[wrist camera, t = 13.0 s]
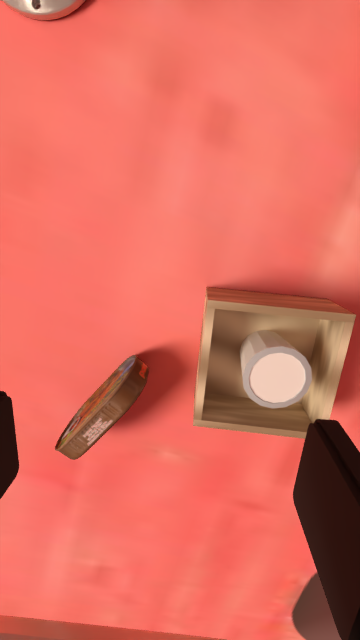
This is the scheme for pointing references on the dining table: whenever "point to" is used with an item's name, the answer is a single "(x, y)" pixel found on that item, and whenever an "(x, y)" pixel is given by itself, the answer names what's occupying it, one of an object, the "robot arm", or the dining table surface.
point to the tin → (103, 408)
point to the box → (292, 325)
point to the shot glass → (273, 370)
